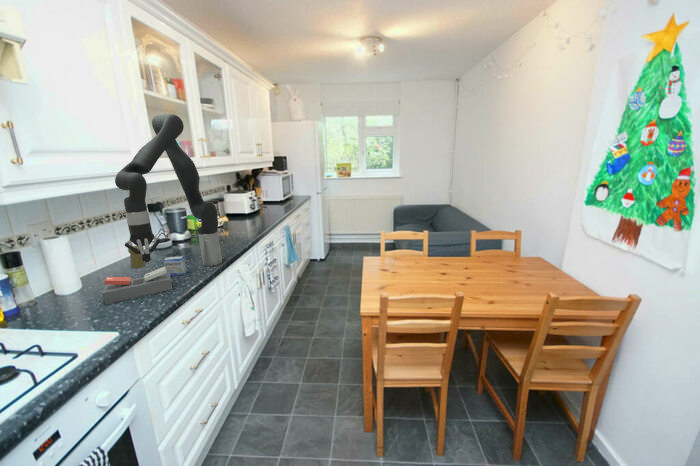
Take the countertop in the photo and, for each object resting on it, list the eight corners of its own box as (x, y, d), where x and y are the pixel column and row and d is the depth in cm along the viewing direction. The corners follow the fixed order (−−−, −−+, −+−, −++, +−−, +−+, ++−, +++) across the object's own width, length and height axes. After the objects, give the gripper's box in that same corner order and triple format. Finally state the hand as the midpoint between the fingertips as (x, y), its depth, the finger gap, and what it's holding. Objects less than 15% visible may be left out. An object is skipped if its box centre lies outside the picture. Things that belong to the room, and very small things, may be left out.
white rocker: (166, 269, 130) (164, 266, 130) (166, 272, 127) (164, 269, 126) (146, 277, 127) (144, 274, 126) (146, 281, 123) (144, 278, 123)
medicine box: (166, 276, 141) (163, 260, 138) (169, 273, 145) (166, 256, 142) (184, 274, 143) (181, 258, 140) (186, 271, 147) (184, 255, 144)
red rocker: (130, 280, 124) (130, 277, 124) (129, 284, 120) (130, 280, 120) (106, 280, 119) (106, 276, 119) (104, 284, 116) (104, 280, 116)
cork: (137, 268, 150) (133, 248, 147) (128, 268, 152) (123, 248, 148) (147, 264, 156) (143, 245, 153) (138, 263, 157) (134, 244, 154)
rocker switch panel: (171, 282, 135) (169, 270, 133) (172, 289, 127) (169, 277, 126) (108, 295, 123) (105, 282, 121) (105, 304, 116) (101, 290, 114)
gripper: (158, 218, 125) (165, 256, 130) (119, 222, 118) (128, 262, 123) (158, 221, 119) (165, 261, 124) (117, 226, 112) (127, 267, 117)
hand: (147, 261), depth 123 cm, fingers closed
